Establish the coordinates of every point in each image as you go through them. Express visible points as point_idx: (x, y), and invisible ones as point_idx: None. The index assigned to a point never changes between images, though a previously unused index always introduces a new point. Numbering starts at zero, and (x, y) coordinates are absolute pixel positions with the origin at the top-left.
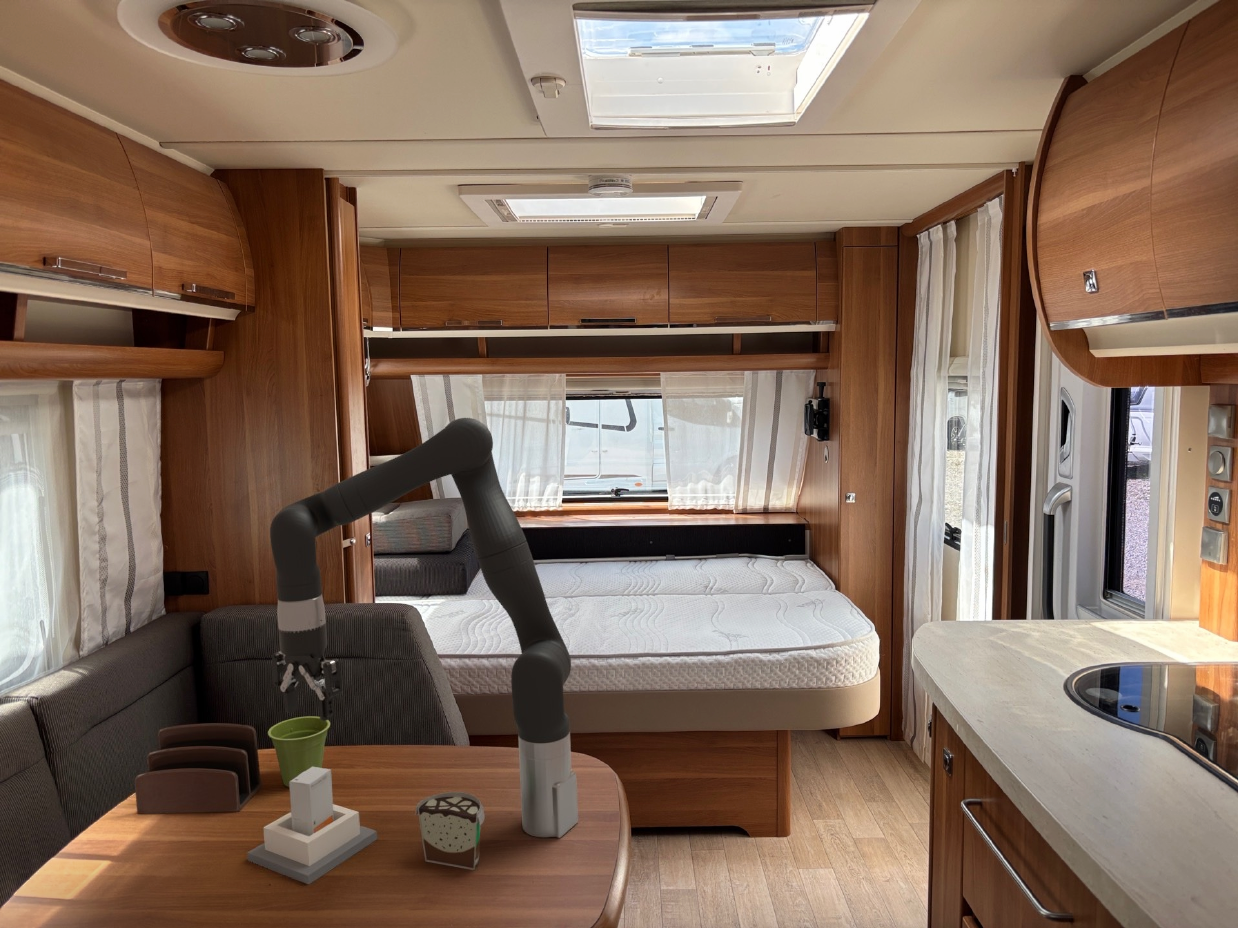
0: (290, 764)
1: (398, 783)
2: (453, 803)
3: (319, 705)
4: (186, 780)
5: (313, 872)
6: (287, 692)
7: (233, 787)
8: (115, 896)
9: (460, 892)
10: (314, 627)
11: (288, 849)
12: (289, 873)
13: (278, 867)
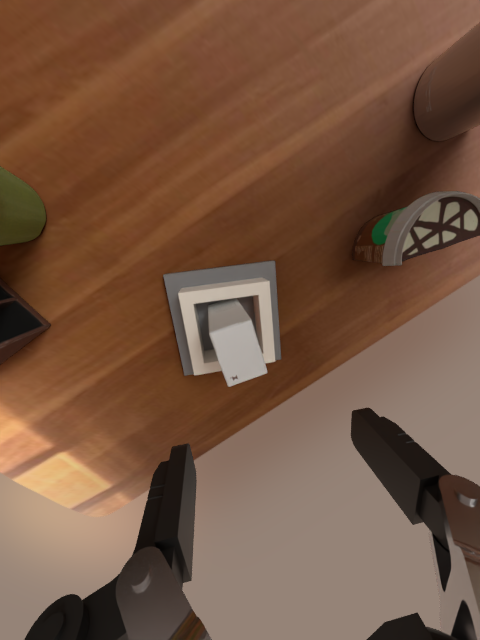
0: (4, 241)
1: (164, 120)
2: (435, 222)
3: (392, 496)
4: None
5: (280, 352)
6: (183, 575)
7: (18, 340)
8: (141, 463)
9: (415, 277)
10: None
11: None
12: None
13: None
